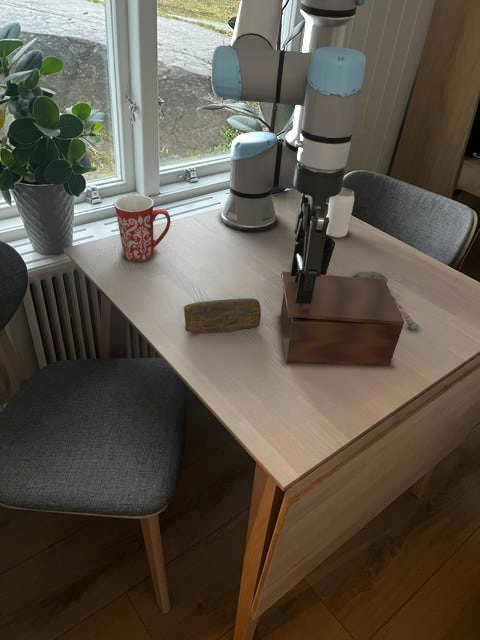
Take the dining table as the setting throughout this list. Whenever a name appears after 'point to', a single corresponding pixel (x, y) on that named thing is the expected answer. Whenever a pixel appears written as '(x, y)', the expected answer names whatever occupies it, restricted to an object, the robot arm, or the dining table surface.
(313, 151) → the robot arm
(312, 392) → the dining table surface
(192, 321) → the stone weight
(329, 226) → the can
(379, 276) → the soupspoon
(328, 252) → the cup
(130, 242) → the mug
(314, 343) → the chest
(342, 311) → the lid
